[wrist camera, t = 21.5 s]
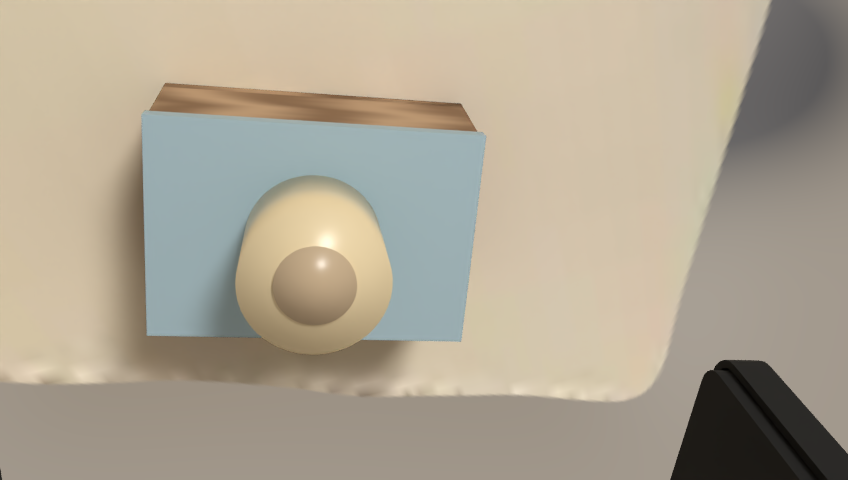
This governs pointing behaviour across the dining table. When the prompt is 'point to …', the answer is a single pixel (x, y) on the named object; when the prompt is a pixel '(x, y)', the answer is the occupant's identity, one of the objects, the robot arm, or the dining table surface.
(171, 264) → the lid
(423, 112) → the crate
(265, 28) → the dining table surface
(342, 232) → the cream bottle with knob
